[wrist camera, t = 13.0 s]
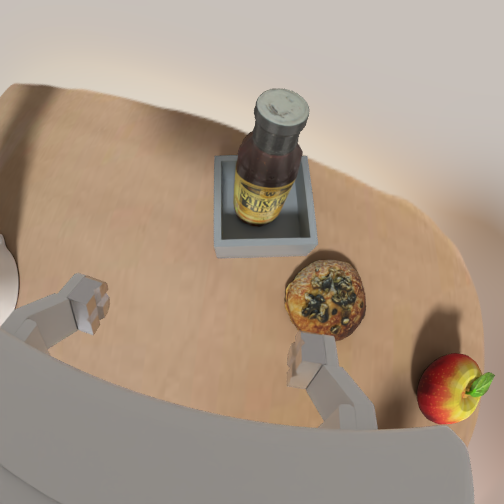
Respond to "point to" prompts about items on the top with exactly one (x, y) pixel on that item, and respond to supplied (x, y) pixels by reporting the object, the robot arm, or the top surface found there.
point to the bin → (272, 234)
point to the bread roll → (326, 299)
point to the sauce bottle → (269, 157)
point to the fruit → (451, 388)
